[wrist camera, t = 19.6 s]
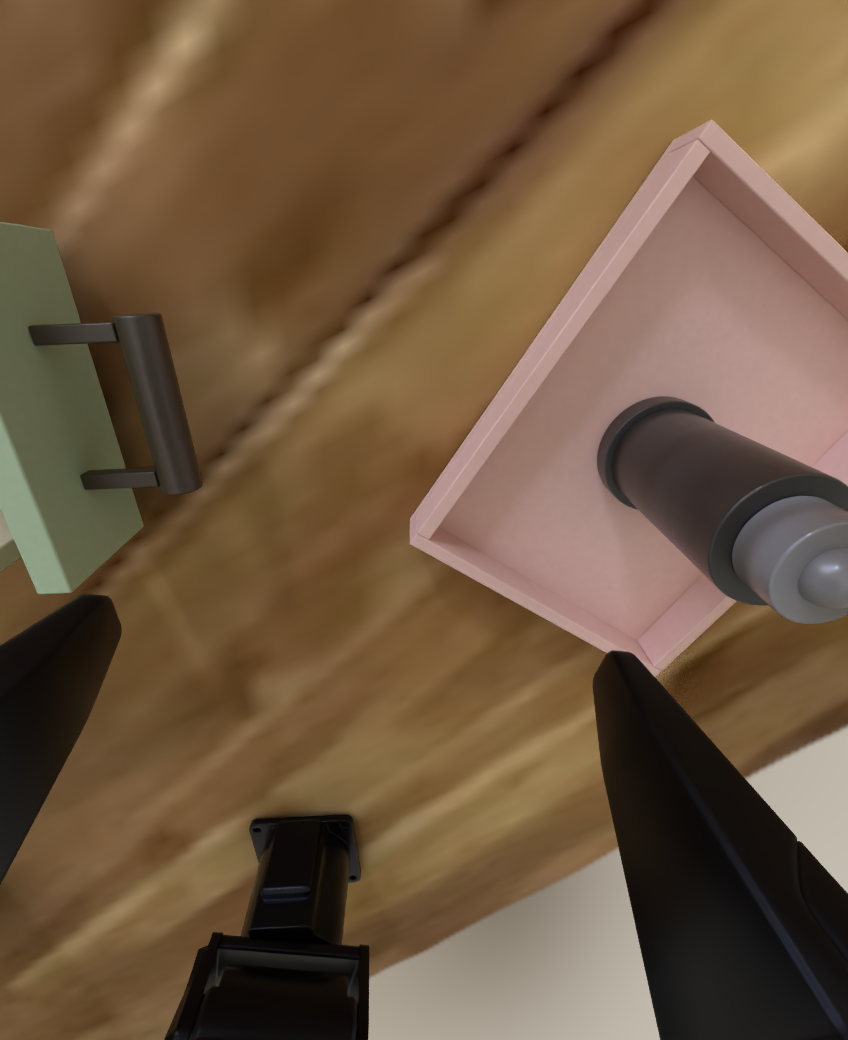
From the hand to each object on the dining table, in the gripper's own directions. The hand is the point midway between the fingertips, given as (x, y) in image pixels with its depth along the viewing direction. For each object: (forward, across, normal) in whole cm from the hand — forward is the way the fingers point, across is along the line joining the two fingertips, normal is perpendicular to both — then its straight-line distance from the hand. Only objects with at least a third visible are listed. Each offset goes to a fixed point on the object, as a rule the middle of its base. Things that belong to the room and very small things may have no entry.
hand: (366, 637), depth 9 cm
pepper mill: (+13, -11, +2) cm, 17 cm away
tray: (+14, -11, +2) cm, 18 cm away
